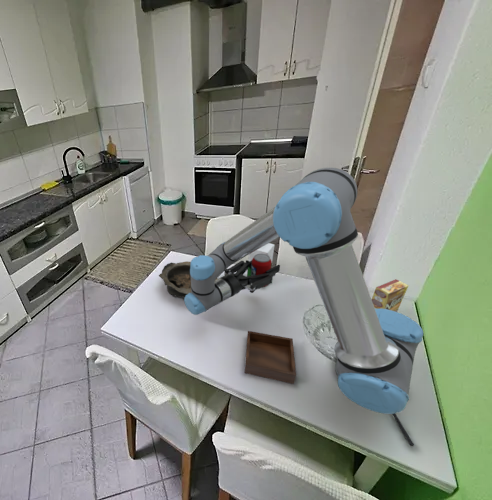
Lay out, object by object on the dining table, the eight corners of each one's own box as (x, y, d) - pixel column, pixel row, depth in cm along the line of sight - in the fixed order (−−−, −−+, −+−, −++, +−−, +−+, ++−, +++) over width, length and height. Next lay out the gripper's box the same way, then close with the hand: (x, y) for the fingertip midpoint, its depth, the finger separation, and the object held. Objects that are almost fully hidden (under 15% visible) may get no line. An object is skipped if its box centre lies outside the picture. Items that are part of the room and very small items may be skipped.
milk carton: (252, 272, 127) (255, 234, 117) (272, 279, 122) (277, 239, 111) (243, 282, 122) (246, 243, 112) (264, 289, 116) (269, 249, 106)
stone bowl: (150, 294, 123) (148, 277, 119) (181, 269, 139) (181, 253, 135) (199, 315, 108) (199, 296, 104) (227, 285, 124) (229, 267, 120)
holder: (293, 384, 81) (296, 375, 79) (244, 373, 86) (245, 364, 84) (290, 347, 91) (292, 338, 89) (246, 339, 96) (247, 330, 94)
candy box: (374, 329, 93) (389, 294, 85) (362, 320, 97) (375, 286, 89) (393, 320, 95) (410, 285, 87) (380, 312, 99) (395, 278, 91)
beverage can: (252, 276, 111) (254, 251, 105) (270, 280, 108) (273, 254, 102) (248, 286, 106) (250, 260, 100) (267, 290, 103) (270, 264, 97)
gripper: (206, 282, 107) (249, 261, 115) (245, 311, 91) (292, 283, 99) (205, 266, 103) (250, 245, 111) (247, 293, 87) (295, 266, 96)
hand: (270, 263), depth 105 cm, fingers closed on beverage can, 7 cm apart
